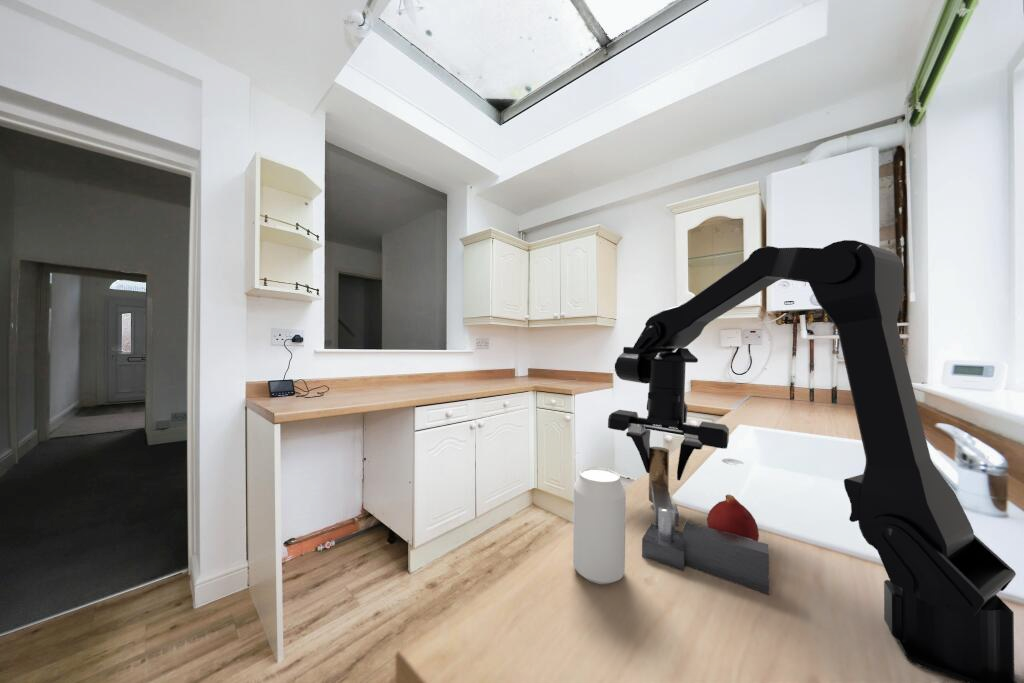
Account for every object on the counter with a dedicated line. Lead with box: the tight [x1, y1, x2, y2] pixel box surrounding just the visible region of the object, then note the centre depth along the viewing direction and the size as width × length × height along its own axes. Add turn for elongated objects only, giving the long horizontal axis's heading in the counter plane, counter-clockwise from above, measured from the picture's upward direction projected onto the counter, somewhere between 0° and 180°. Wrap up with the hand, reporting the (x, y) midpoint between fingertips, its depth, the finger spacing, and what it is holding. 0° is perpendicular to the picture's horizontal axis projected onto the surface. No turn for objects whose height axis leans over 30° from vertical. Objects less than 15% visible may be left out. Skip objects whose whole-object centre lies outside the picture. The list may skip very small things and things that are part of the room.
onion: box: [706, 494, 760, 542], centre depth 46 cm, size 6×6×8 cm
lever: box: [648, 446, 680, 528], centre depth 55 cm, size 14×3×9 cm, turn 160°
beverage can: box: [572, 467, 627, 585], centre depth 42 cm, size 6×6×12 cm
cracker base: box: [641, 506, 770, 596], centre depth 43 cm, size 14×5×6 cm, turn 54°
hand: (663, 475), depth 60 cm, fingers open, 5 cm apart
